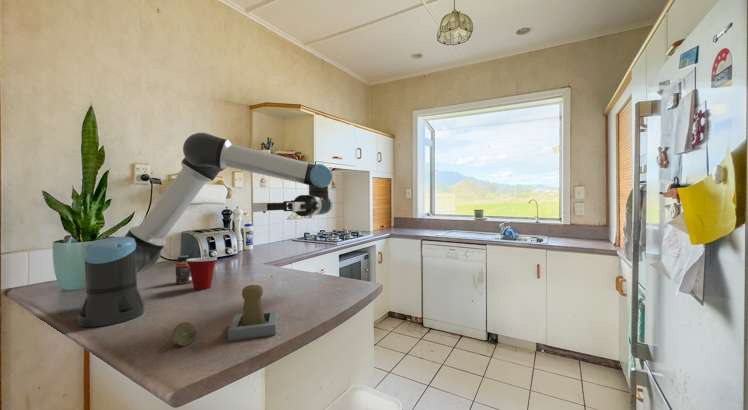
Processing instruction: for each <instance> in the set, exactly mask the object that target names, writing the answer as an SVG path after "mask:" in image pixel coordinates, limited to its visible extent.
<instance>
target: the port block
mask: <svg viewBox="0 0 748 410" xmlns="http://www.w3.org/2000/svg"><path fill="white" fill-rule="evenodd" d="M263 313H264V319H265V324H257V325H248V326H242V317H243V313H237V314H234V317H233V320H232V321H231V323H230V325H229V328H228V330H227V336H228V337H227V339H228V340H227V341H228V342H229V341H236V340H237V341H239V340H244V339H245V340H246V339H252V338H253V339H254V338H260V337H267V336H273V335H274V336H276V335H277V325H278V310H277V309H273V310H265V311H264V310H263Z"/></svg>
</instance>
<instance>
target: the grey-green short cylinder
mask: <svg viewBox="0 0 748 410" xmlns="http://www.w3.org/2000/svg"><path fill="white" fill-rule="evenodd" d="M196 334H197V331H196V328H195V325H194V324H192V323H190V322H186V321H185V322H180V323H179V324H178V325H176V326H175V327H174V328H173V331H172V333H171V338H172V340H173V342H174V344H177V345H178V346H182V347H183V346H187V345H189V344H190V343H191V342H193V340H194V338H196Z"/></svg>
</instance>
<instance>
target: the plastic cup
mask: <svg viewBox="0 0 748 410" xmlns="http://www.w3.org/2000/svg"><path fill="white" fill-rule="evenodd" d="M217 260H218V257H197V258H195V257H194V258H193V257H192V258H189V259H187V260H186V261H187V262H188V265H189V269H190V274H191V278H192V282H191V283H192V286H193V289H194V290H195V291H203V290H208V289H211V286H212V281H213V276H214V271H215V265H216V262H217Z"/></svg>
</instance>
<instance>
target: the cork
mask: <svg viewBox="0 0 748 410" xmlns="http://www.w3.org/2000/svg"><path fill="white" fill-rule="evenodd" d="M241 291H242V292H241V296H242V298H243V300H244V301H243V309H242V314H243V317H242V326H248V325H257V324H265V319H264V313H263V312H264V309H263V303H262V302H263V301H262V296H263V294H264V289H263V287H262V286H261V285H258V284H250V285H247V286H244V288H243V289H242V290H241Z"/></svg>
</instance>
